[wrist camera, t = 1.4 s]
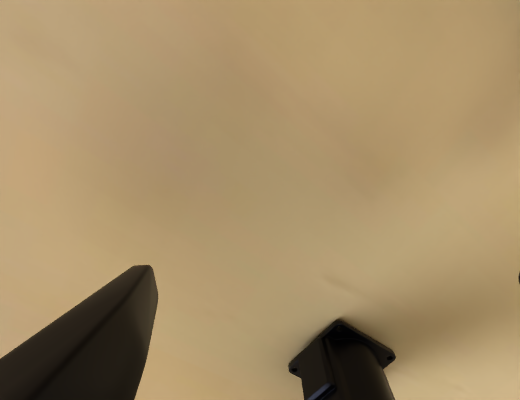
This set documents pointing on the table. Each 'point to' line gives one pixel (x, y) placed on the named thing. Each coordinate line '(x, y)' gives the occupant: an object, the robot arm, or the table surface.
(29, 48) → the table surface
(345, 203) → the table surface
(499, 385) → the table surface
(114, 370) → the robot arm
